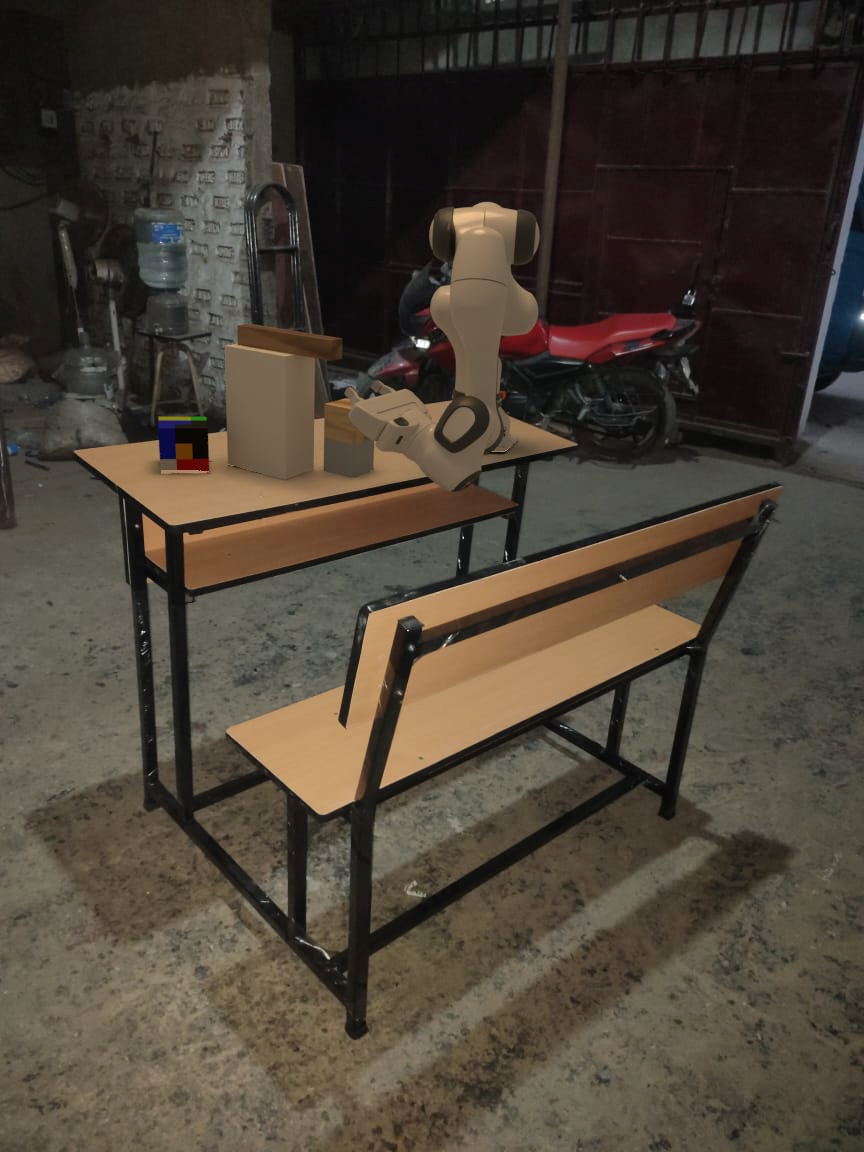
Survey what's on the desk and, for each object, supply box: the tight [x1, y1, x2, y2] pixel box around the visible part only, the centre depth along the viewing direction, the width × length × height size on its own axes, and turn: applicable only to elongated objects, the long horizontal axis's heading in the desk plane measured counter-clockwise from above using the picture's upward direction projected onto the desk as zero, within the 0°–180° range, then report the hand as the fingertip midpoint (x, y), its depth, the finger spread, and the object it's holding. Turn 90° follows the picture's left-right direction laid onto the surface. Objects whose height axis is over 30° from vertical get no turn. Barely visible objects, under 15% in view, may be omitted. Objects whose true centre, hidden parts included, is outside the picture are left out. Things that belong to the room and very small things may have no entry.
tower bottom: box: [323, 437, 375, 479], centre depth 191 cm, size 8×8×8 cm
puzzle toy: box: [157, 416, 210, 472], centre depth 185 cm, size 10×10×10 cm
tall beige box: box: [224, 343, 316, 481], centre depth 185 cm, size 10×16×26 cm, turn 61°
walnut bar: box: [236, 323, 343, 362], centre depth 177 cm, size 4×24×4 cm, turn 61°
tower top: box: [323, 397, 369, 444], centre depth 188 cm, size 8×8×8 cm
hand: (361, 386), depth 172 cm, fingers open, 8 cm apart
